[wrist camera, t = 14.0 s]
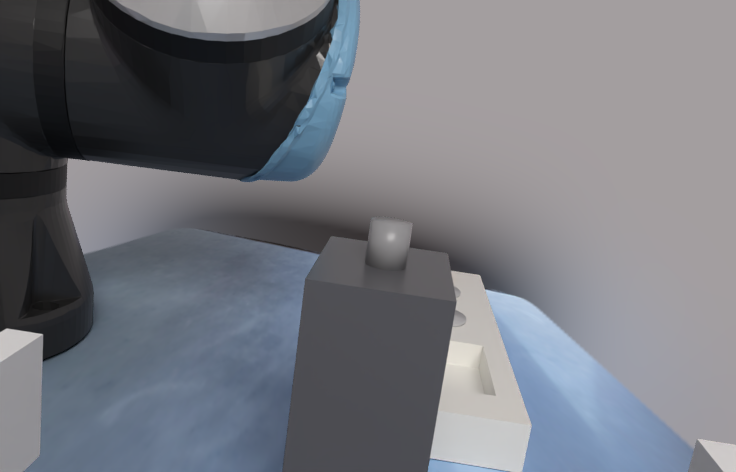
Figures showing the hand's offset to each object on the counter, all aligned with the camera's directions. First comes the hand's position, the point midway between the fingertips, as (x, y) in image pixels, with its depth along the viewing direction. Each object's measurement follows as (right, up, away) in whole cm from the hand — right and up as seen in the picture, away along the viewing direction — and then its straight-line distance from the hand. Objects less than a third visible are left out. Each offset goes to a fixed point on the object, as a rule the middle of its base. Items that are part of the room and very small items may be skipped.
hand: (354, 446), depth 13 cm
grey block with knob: (-1, -7, +12) cm, 14 cm away
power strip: (+5, -4, +31) cm, 31 cm away
